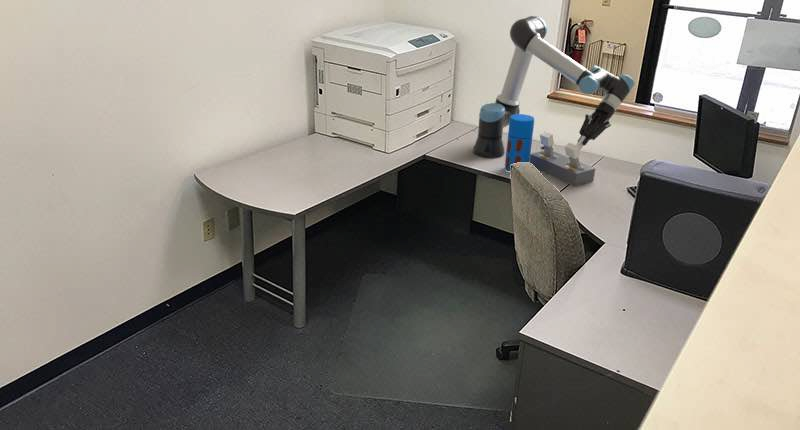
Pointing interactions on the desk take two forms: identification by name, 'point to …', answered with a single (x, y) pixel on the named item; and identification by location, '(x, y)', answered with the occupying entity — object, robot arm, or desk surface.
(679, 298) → the desk surface
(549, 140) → the inner lever
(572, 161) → the outer lever
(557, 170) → the switch box
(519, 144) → the thermos
